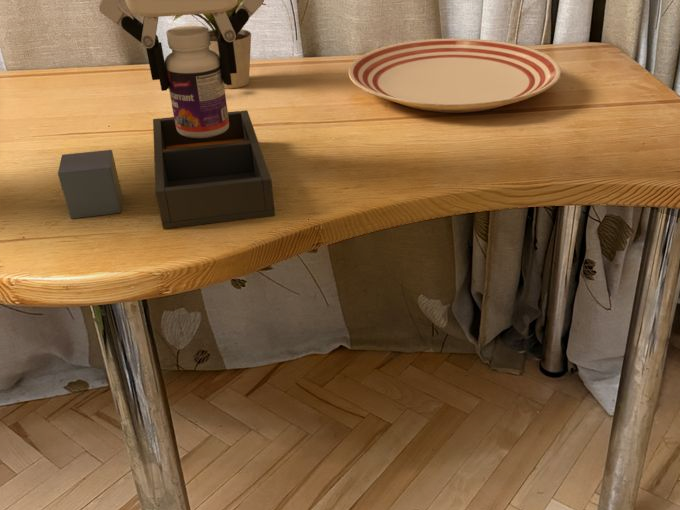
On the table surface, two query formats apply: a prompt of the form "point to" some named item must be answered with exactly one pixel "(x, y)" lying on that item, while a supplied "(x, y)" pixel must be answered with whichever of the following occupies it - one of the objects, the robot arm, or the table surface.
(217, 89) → the pill bottle
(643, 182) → the table surface
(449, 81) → the dinner plate
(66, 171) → the gray cube
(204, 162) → the sorter
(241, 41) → the house plant
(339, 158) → the table surface
